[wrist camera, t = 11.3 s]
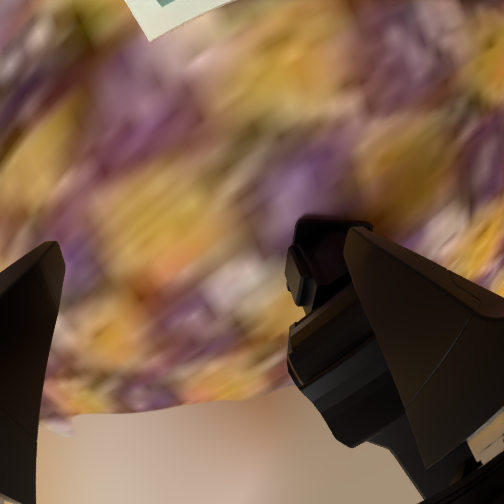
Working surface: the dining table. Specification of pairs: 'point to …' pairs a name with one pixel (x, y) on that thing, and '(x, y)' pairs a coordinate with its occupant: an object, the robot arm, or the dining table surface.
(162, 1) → the teal block
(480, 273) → the dining table surface
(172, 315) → the dining table surface
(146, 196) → the dining table surface
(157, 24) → the white tile
